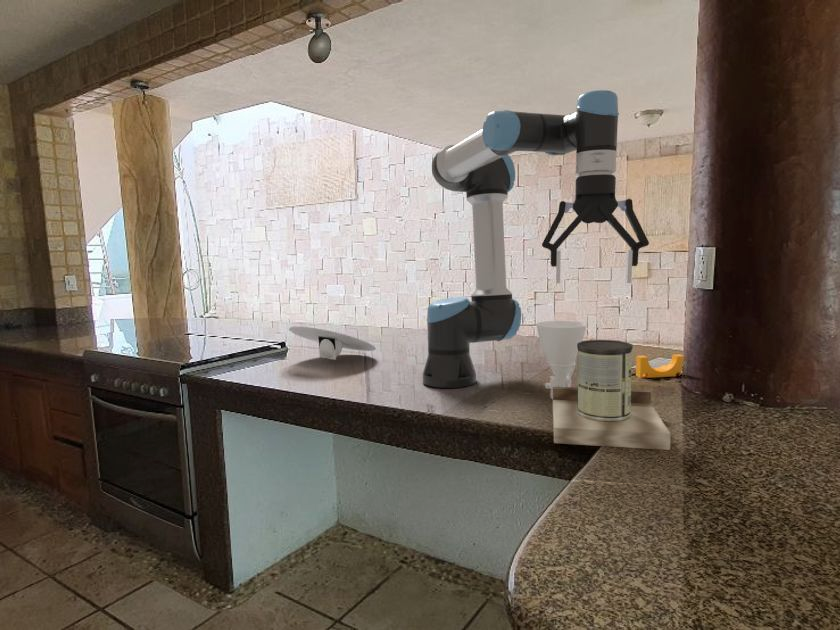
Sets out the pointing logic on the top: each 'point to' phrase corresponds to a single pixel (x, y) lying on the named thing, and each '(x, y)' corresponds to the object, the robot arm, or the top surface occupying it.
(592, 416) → the coffee can
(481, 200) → the robot arm
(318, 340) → the grey cake stand
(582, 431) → the birch platform
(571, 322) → the rocket engine
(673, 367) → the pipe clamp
